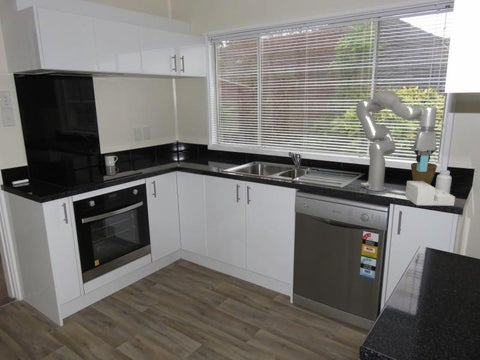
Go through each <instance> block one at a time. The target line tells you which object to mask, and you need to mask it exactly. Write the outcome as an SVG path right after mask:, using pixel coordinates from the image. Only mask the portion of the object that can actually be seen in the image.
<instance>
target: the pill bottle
mask: <svg viewBox="0 0 480 360" xmlns="http://www.w3.org/2000/svg"><path fill="white" fill-rule="evenodd" d="M450 173H451V171H450V170H446V169H440V170H439V174H437V175H436V180H435V187H434V188H435V189H441V190H443V191H445V192H447V193H449V194H451V186H452V180H453V179H452V176H451V175H450Z"/></svg>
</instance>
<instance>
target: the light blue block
mask: <svg viewBox="0 0 480 360" xmlns="http://www.w3.org/2000/svg"><path fill="white" fill-rule="evenodd" d="M420 155H421V158H420V162H417V161H416V163H417V169H416V170H417V171H419V172H427V165H428V163H429V162H428V157H429V152H427V150H421V153H420Z"/></svg>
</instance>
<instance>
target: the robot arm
mask: <svg viewBox="0 0 480 360" xmlns="http://www.w3.org/2000/svg"><path fill="white" fill-rule="evenodd" d="M385 109H388V110H391V111H392V113H393V114H394V116H396V117H399V118H401V119H404V120H408V121H411V120H420V121H419V126H417V127H416V130H417V132H416V135H415V140H414V144H413V146H412V147H410V148H411V149H410V150H411V151H412V152H414V153H415V155H416V158H415V161H416V163H417V162H420V158H421V155H420V153H421V151H427V152H429V157H428V163H430V158H431V156H432V154H434V153H435V152H437V150H438V147H437V132H436V131H435V126H436V120H437V112H438V108H437V107H436V106H424V105H407V104H404V103H403V99H402V97H400V96H398V94H397V93H396V91H392V90H380V91H377V92H376V94H374V97H373V98H363V99H361V100H359V102H357V104H356V109H355V112H356V116H357V119H358V120H359V121H360V122H359V123H360V124H361V127H362V129H363V132H364V135H365V137H366V138H367V140H369V141H371V142H372V143H370V145H369V146H368V153H369V168H368V180H367V181H366V182H360V186H362V187H365V189H366V190H368V191H372V192H383V191H386V189H387V188H386V186H384V185H385V184H384V183H385V171H386V159H385V157H384V156H387V155H388V156H389V155H392V154H394V152H395V151H396V143H395V141H394V138H393V135H392V134H391V132H390V129H389V128H388V127H387V126H386V125H381V124H380V125H379V124H377V123H376V120H375V118H374V117H373V115H372V114H371V113H374V112H376V113H377V112H381V111H383V110H385Z"/></svg>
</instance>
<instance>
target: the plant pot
mask: <svg viewBox="0 0 480 360" xmlns="http://www.w3.org/2000/svg"><path fill="white" fill-rule="evenodd" d="M410 166H411V167H410V168H411V169H410V171H411V175H412V177H411V178H412V181H423V182H425V183H427V184H429V185H431V183H432V182H433V180H434V176H435V174H436V170H437V167H438V165H437V164H436V163H433V162H432V163H431V162H428V165H427V172H419V171H417V170H416V169H417V162H412V163H411V164H410Z"/></svg>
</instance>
